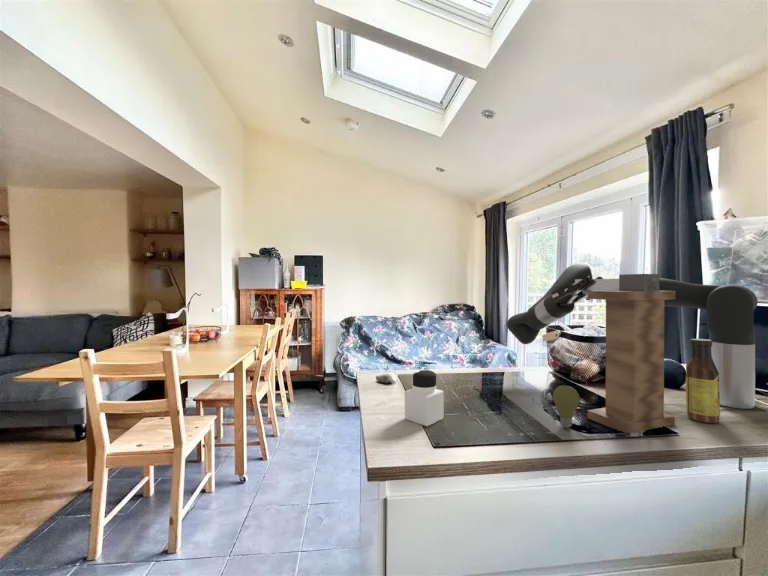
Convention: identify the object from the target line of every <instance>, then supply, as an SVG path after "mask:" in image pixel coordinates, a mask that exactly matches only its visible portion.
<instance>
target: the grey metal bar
mask: <svg viewBox="0 0 768 576" xmlns="http://www.w3.org/2000/svg"><path fill="white" fill-rule="evenodd" d="M618 276H619V277H618V278H603V279H596V278H593V279H591V280H592V284H591V285H589V286H588V287H586V288H585V289H583V290H600V291H659V278H660V273H629V274H625V273H624V274H618ZM581 280H582V279H575V283H578V282H579V281H581Z"/></svg>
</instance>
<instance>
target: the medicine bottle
mask: <svg viewBox="0 0 768 576" xmlns="http://www.w3.org/2000/svg"><path fill="white" fill-rule="evenodd" d="M411 387H412V388H410V389H407V390H405V391H404V419H405V420H406V419H407V420H406V421H409V420H410V421H409V422H412V421H413V422H412V423H416V424H419V425H421V426H424V427H429V426H432V425H433V424H435V423H437V422H440V421H441V420H443V419H444V415H445V414H444V411H445V409H444V402H445V401H444V390H441V389H437V373H436V372H434V371H432V370H429V369H418V370H415V371H413V372H412V373H411Z"/></svg>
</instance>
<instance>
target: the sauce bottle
mask: <svg viewBox="0 0 768 576" xmlns="http://www.w3.org/2000/svg"><path fill="white" fill-rule="evenodd" d="M689 341H690V342H689V343H690V346H691V353H690V355H691V356H690V359H689V360H688V362H686V366H685V399H686V400H685V401H686V402H685V403H686V406H685V407H686V414H687V417H688V418H689V419H690V420H693V421H696V422H699V423H705V424H717V423H719V422H720V416H721V405H720V395H719V373H718V370H717V368H716V366H715V364H714V361H713V359H712V355H711V347H712V341H711V340H709V339H705V338H690V340H689Z"/></svg>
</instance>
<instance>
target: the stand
mask: <svg viewBox="0 0 768 576" xmlns="http://www.w3.org/2000/svg"><path fill="white" fill-rule="evenodd" d="M588 299H590V300H605V406H604V407H601V408H593V409H587V419H589V420H592V421H594V422H596V423H598V424H601V425H602V426H606V427H608V428H610V427H611V428H610V429H613V428H614V429H613V430H615V429H617V430H616V431H618V430H619V431H618V432H620V431H622V432H624V433H623V434H625V433H628V434H631V433H630V432H633V433H637V432H636V431H638V432H642V430H644V431H647V430H653V429H659V427H660V428H664V427H663V426H665V427H669V426H674V425H675V424H676V423H675V422H676V421H675V420H676V419H675V417H676V416H674V415H671V414H668V413H665V400H664V399H665V306H664V300H670V299H675V291H588ZM622 432H621V433H622Z"/></svg>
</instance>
